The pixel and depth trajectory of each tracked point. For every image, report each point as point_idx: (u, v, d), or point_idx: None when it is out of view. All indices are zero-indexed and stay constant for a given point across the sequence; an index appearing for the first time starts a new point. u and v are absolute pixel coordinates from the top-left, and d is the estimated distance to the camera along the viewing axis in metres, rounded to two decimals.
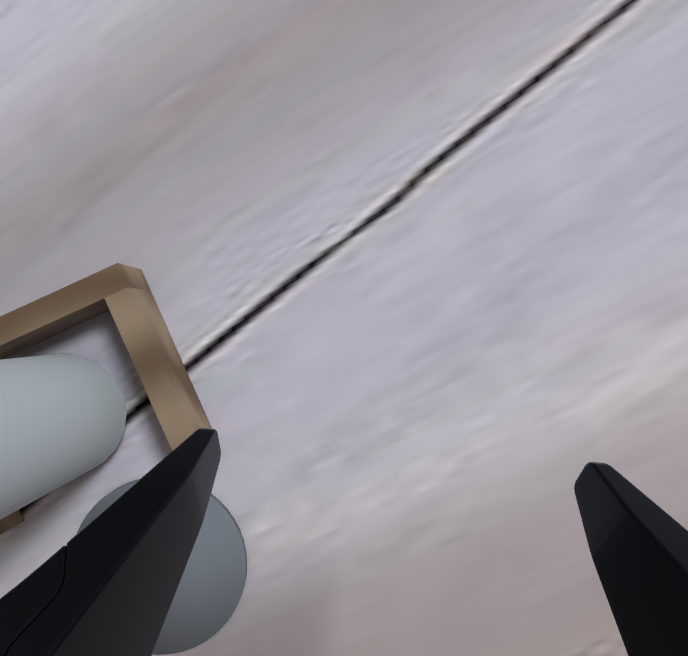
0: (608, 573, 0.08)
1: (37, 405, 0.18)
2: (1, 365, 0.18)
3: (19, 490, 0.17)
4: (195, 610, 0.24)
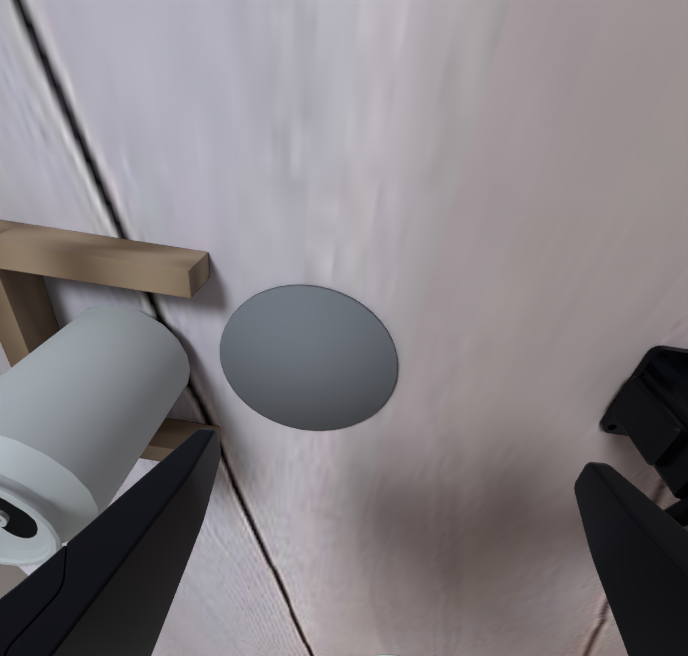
0: (608, 573, 0.08)
1: (33, 372, 0.17)
2: None
3: (94, 423, 0.17)
4: (364, 362, 0.24)
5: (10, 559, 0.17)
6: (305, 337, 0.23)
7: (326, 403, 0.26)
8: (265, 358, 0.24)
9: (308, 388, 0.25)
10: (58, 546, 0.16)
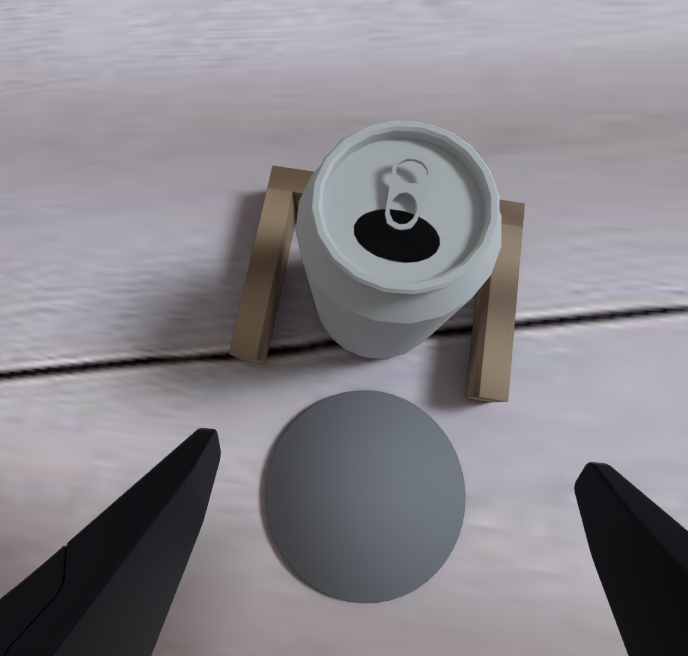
0: (608, 573, 0.08)
1: None
2: None
3: (441, 321, 0.16)
4: (375, 562, 0.21)
5: (320, 198, 0.13)
6: (406, 492, 0.22)
7: (312, 510, 0.21)
8: (376, 443, 0.22)
9: (334, 489, 0.22)
10: (366, 283, 0.12)
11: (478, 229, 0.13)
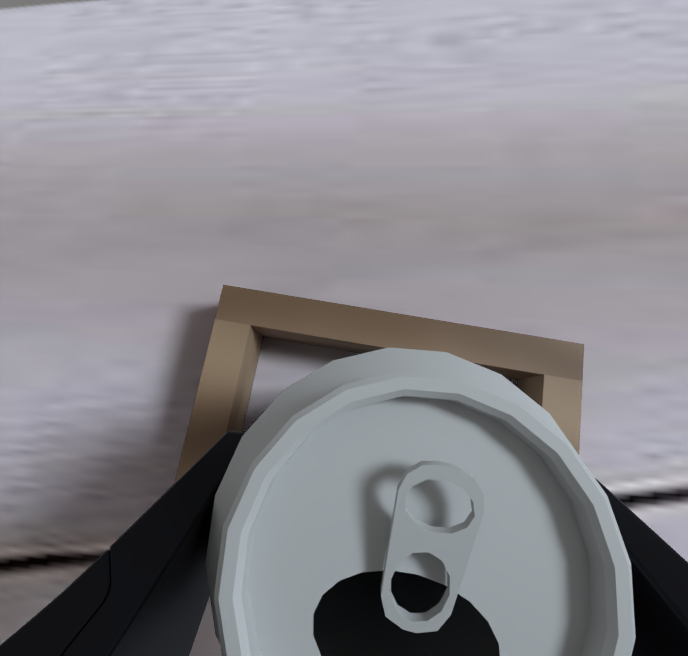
0: None
1: None
2: None
3: None
4: None
5: (239, 565, 0.06)
6: None
7: None
8: None
9: None
10: None
11: (583, 625, 0.06)
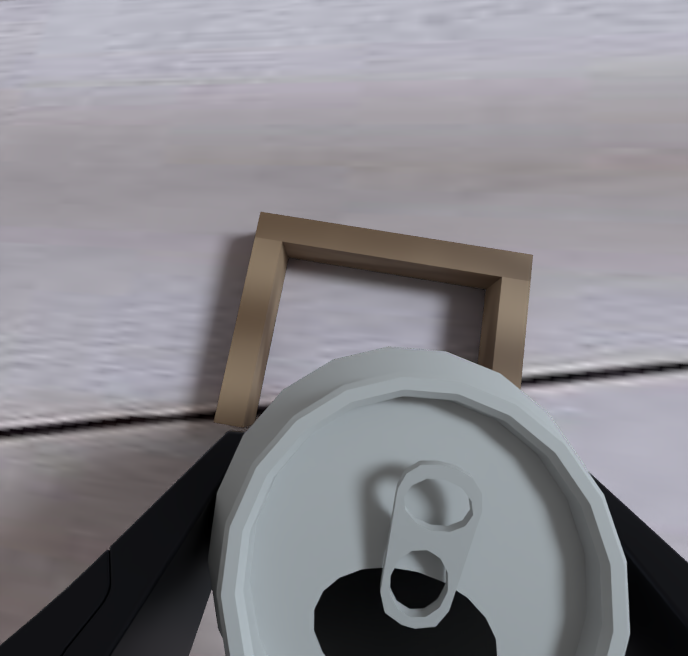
0: None
1: None
2: None
3: None
4: None
5: (241, 562, 0.06)
6: None
7: None
8: None
9: None
10: None
11: (578, 621, 0.06)
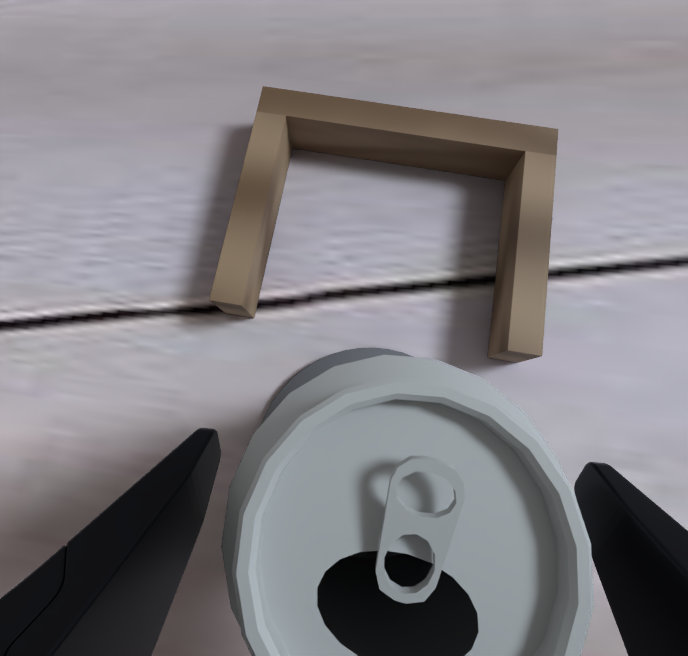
0: (608, 573, 0.08)
1: None
2: None
3: None
4: None
5: (254, 545, 0.07)
6: None
7: None
8: None
9: None
10: None
11: (550, 597, 0.07)
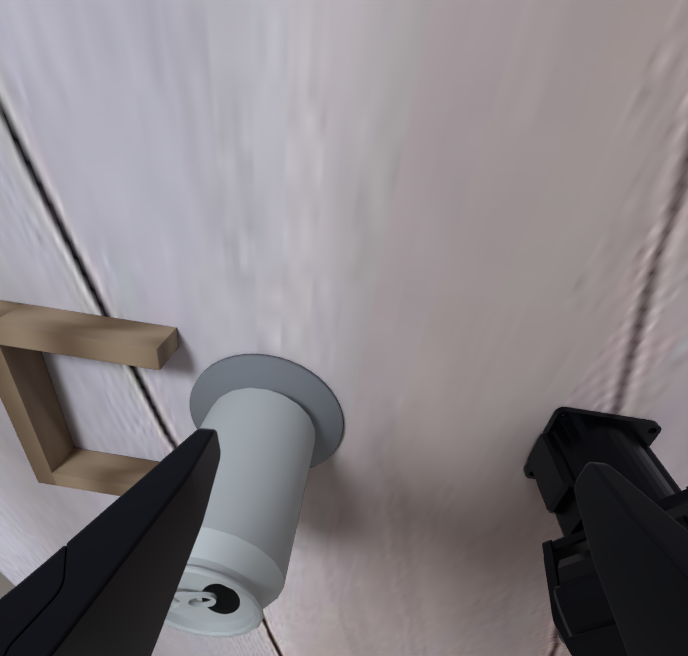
0: (608, 573, 0.08)
1: (222, 465, 0.20)
2: None
3: (277, 511, 0.20)
4: (313, 417, 0.27)
5: (206, 631, 0.19)
6: None
7: None
8: None
9: None
10: (259, 624, 0.18)
11: (203, 567, 0.17)
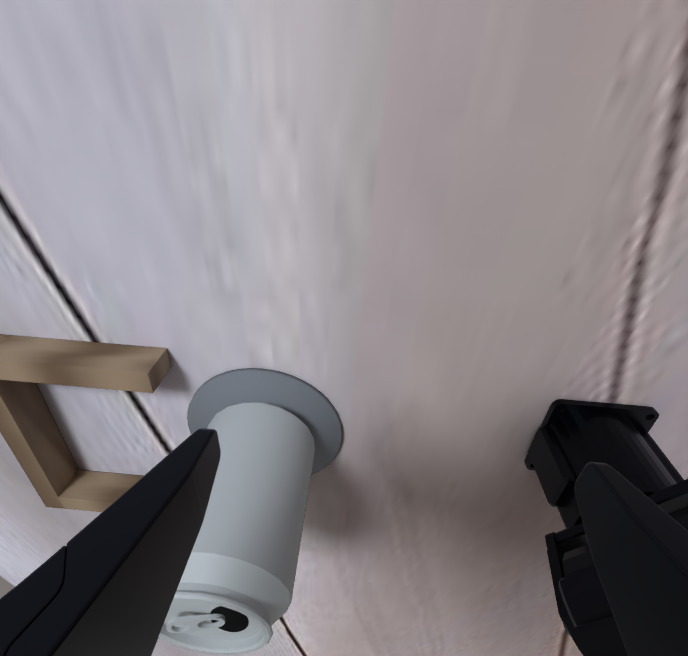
0: (608, 573, 0.08)
1: (221, 486, 0.20)
2: None
3: (279, 528, 0.20)
4: (312, 426, 0.27)
5: (218, 649, 0.20)
6: None
7: None
8: None
9: None
10: (269, 640, 0.18)
11: (208, 591, 0.17)
